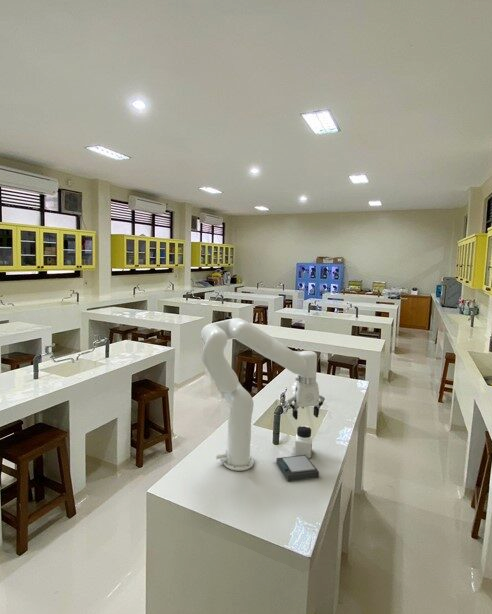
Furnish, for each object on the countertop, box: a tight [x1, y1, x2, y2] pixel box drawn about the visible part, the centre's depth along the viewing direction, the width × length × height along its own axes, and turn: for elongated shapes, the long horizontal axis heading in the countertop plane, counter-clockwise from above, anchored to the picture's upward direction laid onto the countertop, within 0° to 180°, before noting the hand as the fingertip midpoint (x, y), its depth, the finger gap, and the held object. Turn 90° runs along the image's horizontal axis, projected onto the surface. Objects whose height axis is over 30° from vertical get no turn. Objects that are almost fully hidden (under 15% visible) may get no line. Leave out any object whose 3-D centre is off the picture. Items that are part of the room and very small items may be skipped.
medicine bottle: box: [294, 425, 313, 459], centre depth 166 cm, size 7×7×12 cm
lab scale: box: [275, 455, 320, 482], centre depth 153 cm, size 13×13×3 cm
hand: (305, 417), depth 164 cm, fingers open, 9 cm apart
